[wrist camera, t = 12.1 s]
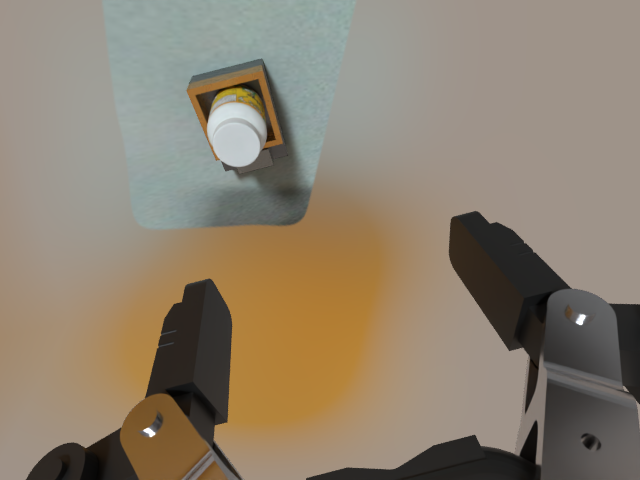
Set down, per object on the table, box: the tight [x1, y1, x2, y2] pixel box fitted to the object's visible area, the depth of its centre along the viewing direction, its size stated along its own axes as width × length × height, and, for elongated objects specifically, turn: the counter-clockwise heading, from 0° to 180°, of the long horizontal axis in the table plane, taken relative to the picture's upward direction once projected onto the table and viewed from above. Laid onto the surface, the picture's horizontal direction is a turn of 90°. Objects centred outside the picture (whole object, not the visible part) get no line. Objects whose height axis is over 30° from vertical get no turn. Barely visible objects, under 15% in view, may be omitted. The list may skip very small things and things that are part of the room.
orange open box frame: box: [187, 59, 288, 174], centre depth 38 cm, size 10×8×6 cm
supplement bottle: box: [207, 84, 267, 167], centre depth 33 cm, size 5×5×10 cm
